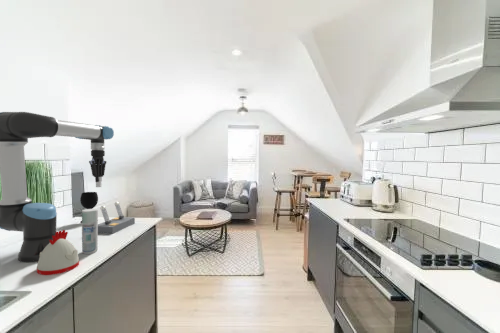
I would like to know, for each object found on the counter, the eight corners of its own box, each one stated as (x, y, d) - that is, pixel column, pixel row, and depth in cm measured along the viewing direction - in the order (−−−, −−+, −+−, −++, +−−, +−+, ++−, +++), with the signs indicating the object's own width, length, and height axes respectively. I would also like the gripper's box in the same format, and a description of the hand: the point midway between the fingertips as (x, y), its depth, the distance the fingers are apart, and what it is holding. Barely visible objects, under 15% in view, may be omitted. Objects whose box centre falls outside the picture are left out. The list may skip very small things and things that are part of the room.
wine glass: (81, 220, 182) (81, 192, 181) (98, 219, 186) (98, 191, 185) (79, 223, 172) (79, 194, 172) (97, 222, 177) (97, 193, 176)
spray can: (79, 254, 120) (79, 211, 119) (84, 249, 126) (84, 208, 125) (95, 253, 121) (95, 211, 121) (99, 248, 128) (99, 208, 127)
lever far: (122, 218, 170) (116, 201, 170) (118, 219, 170) (112, 203, 170) (125, 217, 173) (119, 201, 173) (121, 218, 173) (115, 202, 173)
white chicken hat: (86, 261, 112) (86, 227, 112) (60, 276, 98) (60, 237, 98) (57, 259, 113) (57, 226, 113) (27, 273, 100) (26, 235, 99)
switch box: (112, 233, 152) (112, 226, 152) (93, 232, 153) (93, 225, 153) (134, 223, 176) (134, 217, 176) (118, 222, 177) (118, 216, 177)
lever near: (108, 223, 156) (102, 205, 156) (104, 225, 156) (98, 207, 156) (111, 222, 159) (105, 204, 159) (107, 223, 159) (101, 206, 159)
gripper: (95, 149, 157) (96, 187, 157) (110, 150, 170) (110, 186, 170) (84, 149, 158) (85, 188, 158) (99, 150, 171) (100, 186, 171)
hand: (98, 187), depth 164 cm, fingers closed
